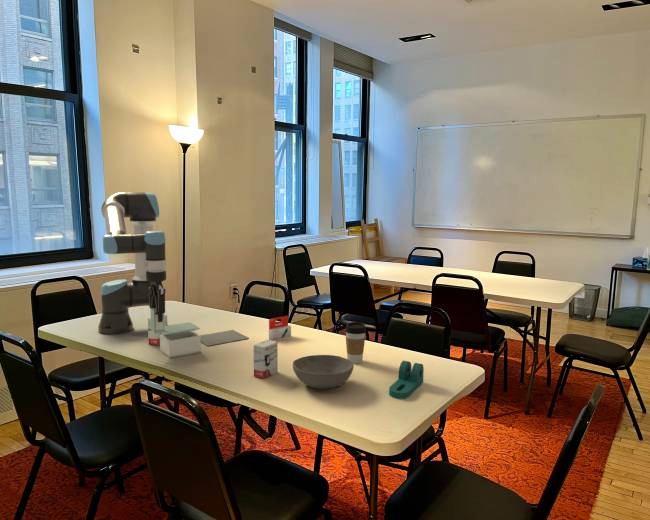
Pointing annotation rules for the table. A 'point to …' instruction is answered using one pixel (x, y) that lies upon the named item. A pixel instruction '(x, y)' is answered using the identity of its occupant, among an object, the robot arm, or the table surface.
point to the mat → (221, 338)
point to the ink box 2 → (265, 358)
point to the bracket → (407, 380)
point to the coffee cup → (355, 341)
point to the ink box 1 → (153, 337)
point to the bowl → (323, 370)
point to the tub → (180, 344)
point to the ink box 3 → (279, 328)
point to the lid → (170, 326)
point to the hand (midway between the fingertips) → (157, 328)
